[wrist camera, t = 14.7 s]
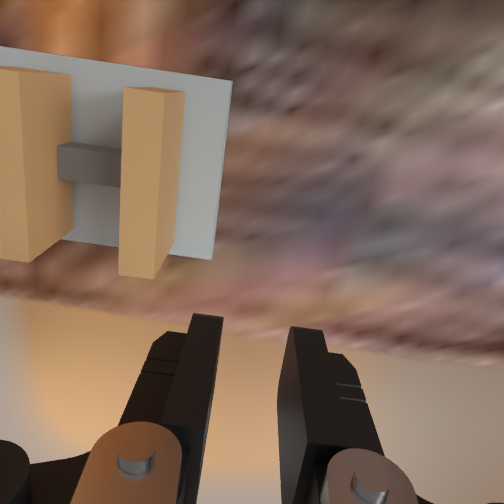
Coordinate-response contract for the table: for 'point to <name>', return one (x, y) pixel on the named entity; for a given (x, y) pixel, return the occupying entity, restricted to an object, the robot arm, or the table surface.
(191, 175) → the vise base
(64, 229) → the sliding jaw
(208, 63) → the table surface
